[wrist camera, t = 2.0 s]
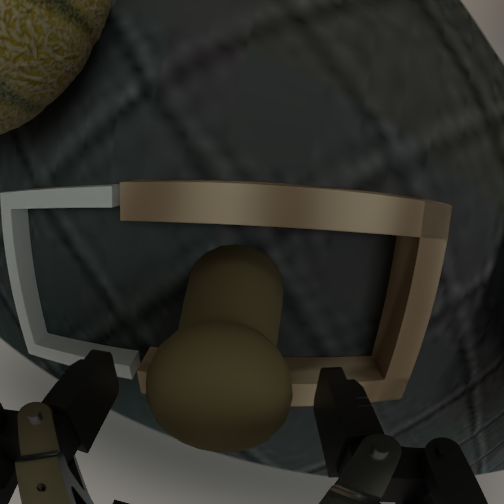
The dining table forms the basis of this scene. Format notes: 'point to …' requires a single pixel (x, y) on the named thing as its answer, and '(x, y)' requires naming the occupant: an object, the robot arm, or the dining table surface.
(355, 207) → the oak channel
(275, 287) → the olive gourd
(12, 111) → the cantaloupe
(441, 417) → the dining table surface
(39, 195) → the grey u-shaped staple
